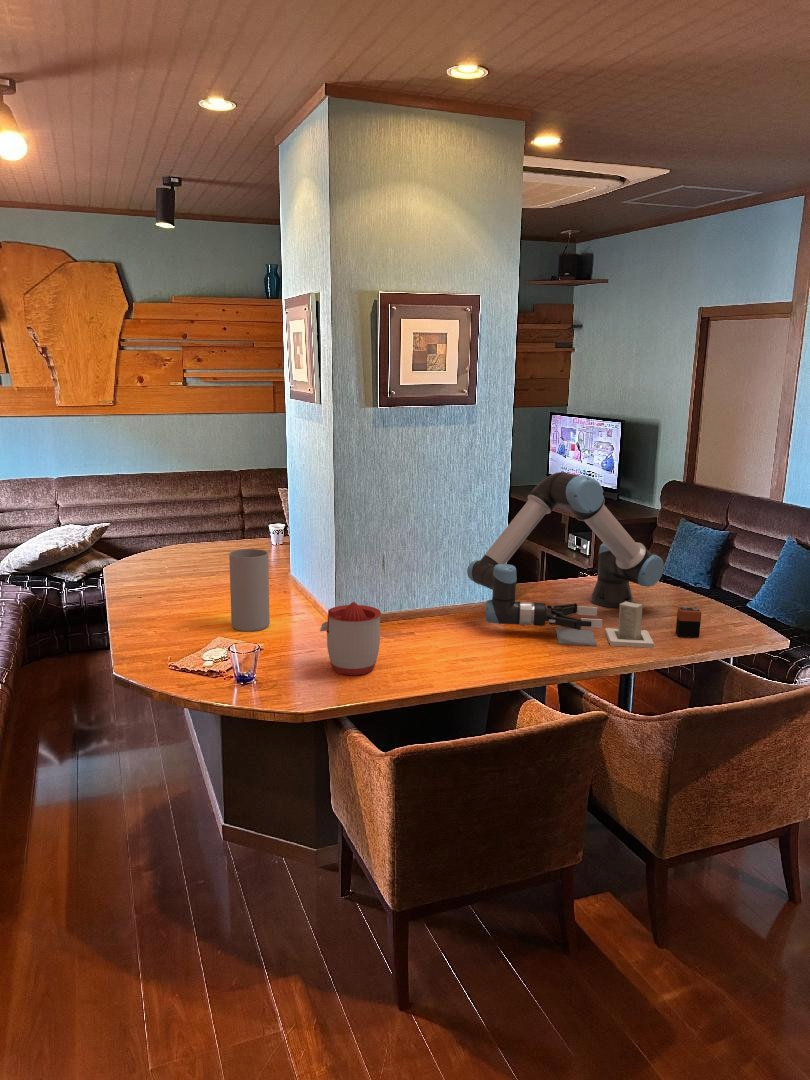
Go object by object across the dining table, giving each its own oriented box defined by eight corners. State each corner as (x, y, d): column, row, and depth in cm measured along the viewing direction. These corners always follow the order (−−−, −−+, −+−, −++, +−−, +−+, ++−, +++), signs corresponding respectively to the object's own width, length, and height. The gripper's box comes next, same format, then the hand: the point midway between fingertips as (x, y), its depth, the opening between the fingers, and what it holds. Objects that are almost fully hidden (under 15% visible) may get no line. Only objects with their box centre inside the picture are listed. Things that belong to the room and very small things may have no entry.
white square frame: (605, 632, 270) (605, 628, 269) (646, 634, 268) (646, 630, 268) (610, 645, 257) (610, 641, 256) (653, 648, 255) (654, 643, 255)
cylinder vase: (224, 629, 266) (221, 555, 261) (243, 619, 278) (241, 547, 273) (258, 634, 262) (256, 558, 257) (276, 623, 274) (275, 550, 269)
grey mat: (555, 628, 273) (555, 627, 273) (591, 630, 272) (591, 629, 271) (558, 644, 257) (558, 642, 257) (596, 646, 256) (596, 644, 256)
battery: (675, 633, 270) (677, 604, 268) (696, 634, 270) (698, 605, 268) (678, 637, 266) (680, 608, 264) (699, 638, 266) (702, 609, 263)
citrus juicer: (320, 659, 240) (320, 594, 236) (379, 659, 242) (380, 594, 237) (319, 679, 225) (318, 610, 221) (381, 678, 226) (382, 609, 222)
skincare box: (640, 640, 262) (643, 604, 260) (634, 644, 259) (637, 607, 256) (623, 636, 266) (625, 600, 264) (616, 639, 263) (619, 603, 260)
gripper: (531, 613, 277) (594, 617, 275) (533, 636, 253) (603, 640, 251) (532, 592, 276) (596, 595, 273) (535, 613, 252) (604, 617, 249)
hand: (599, 617), depth 262 cm, fingers open, 13 cm apart
